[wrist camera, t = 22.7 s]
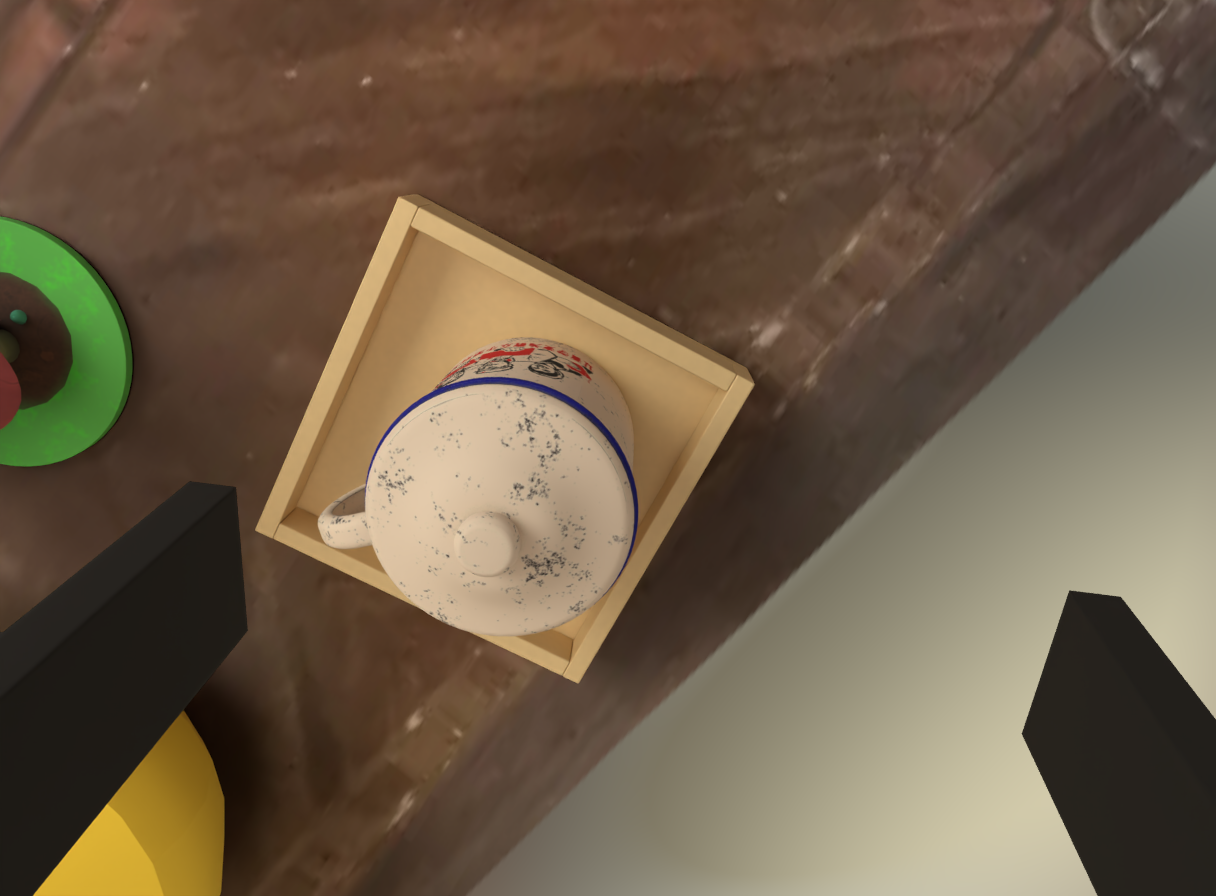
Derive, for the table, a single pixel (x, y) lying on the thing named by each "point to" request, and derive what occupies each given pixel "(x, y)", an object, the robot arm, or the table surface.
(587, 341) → the wooden tray
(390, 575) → the teacup with lid
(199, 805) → the vase
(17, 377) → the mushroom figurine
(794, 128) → the table surface
